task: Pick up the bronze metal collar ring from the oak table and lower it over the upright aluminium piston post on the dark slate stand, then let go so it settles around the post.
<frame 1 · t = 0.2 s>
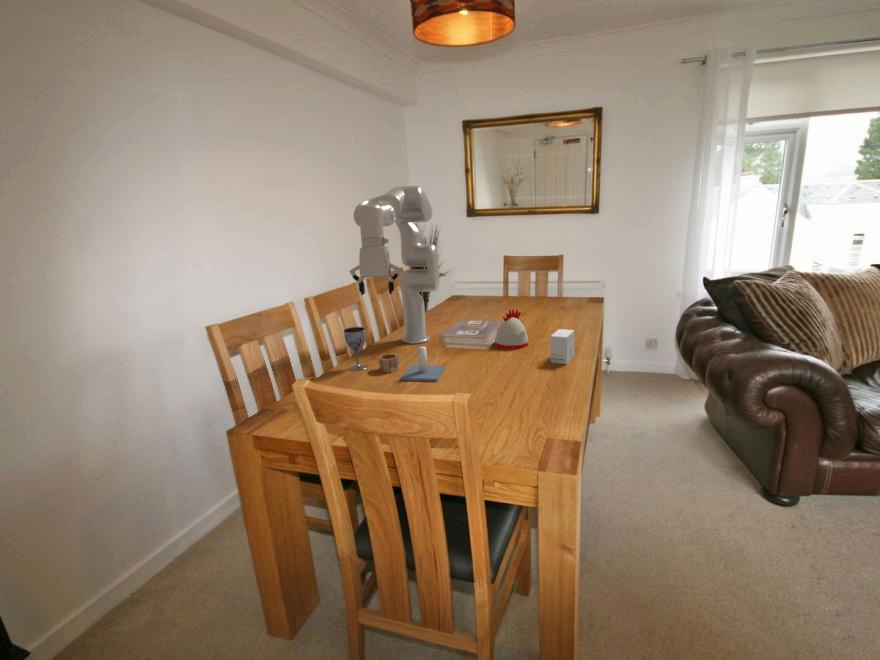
hand: (377, 293, 159), 30 cm above the table, tool pointing down, fingers open, 9 cm apart
ring: (389, 369, 173), on the table
kitchen timer: (511, 344, 196), on the table
skincare box: (562, 359, 175), on the table
wine glass: (358, 368, 177), on the table
piston stand: (423, 374, 166), on the table
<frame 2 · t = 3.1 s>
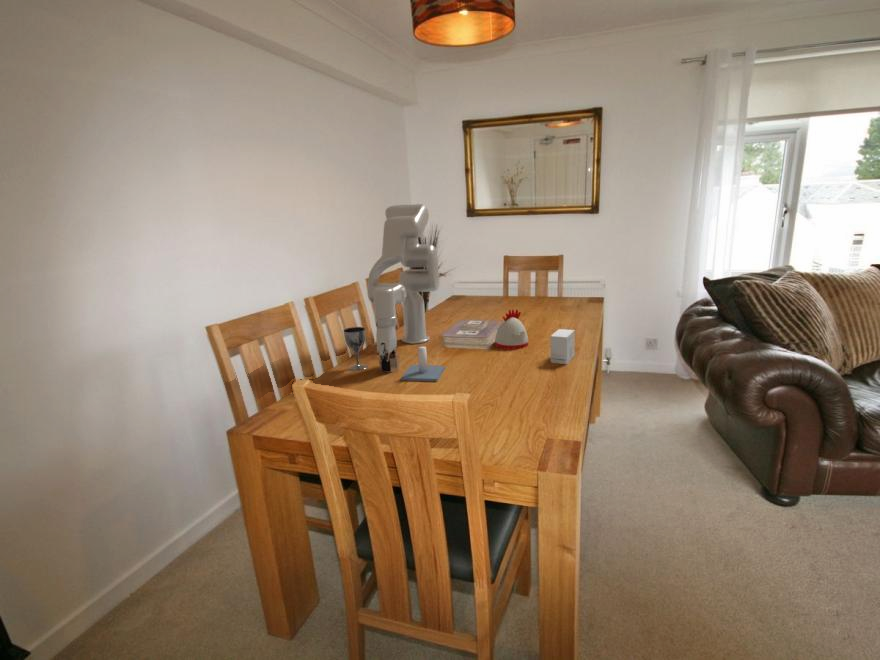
hand: (389, 367, 173), 1 cm above the table, tool pointing down, fingers closed on ring, 7 cm apart
ring: (389, 369, 173), on the table, touching gripper
everything else where it was.
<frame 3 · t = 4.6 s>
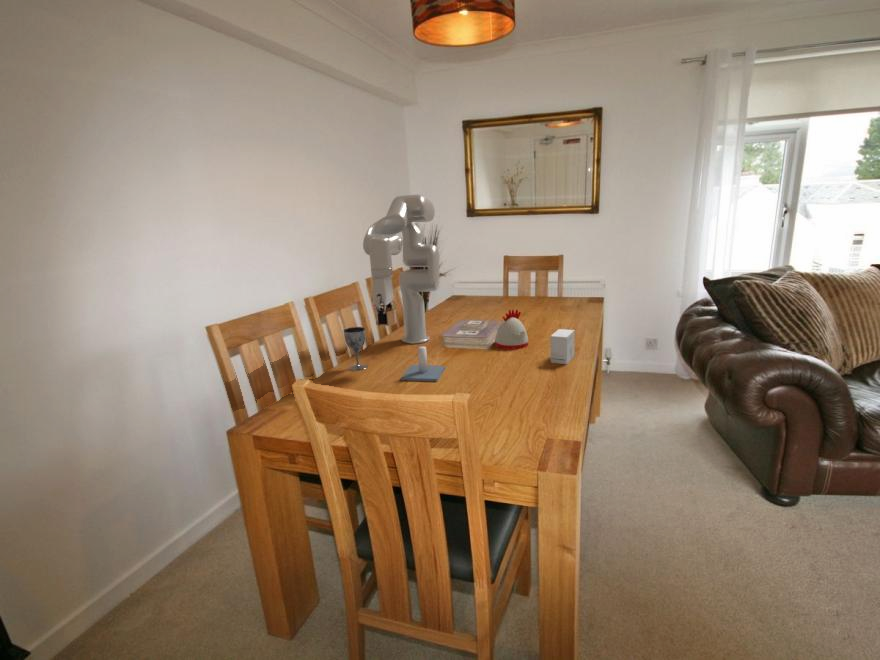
hand: (386, 320, 168), 19 cm above the table, tool pointing down, fingers closed on ring, 7 cm apart
ring: (386, 323, 169), point 18 cm above the table, touching gripper
everything else where it was.
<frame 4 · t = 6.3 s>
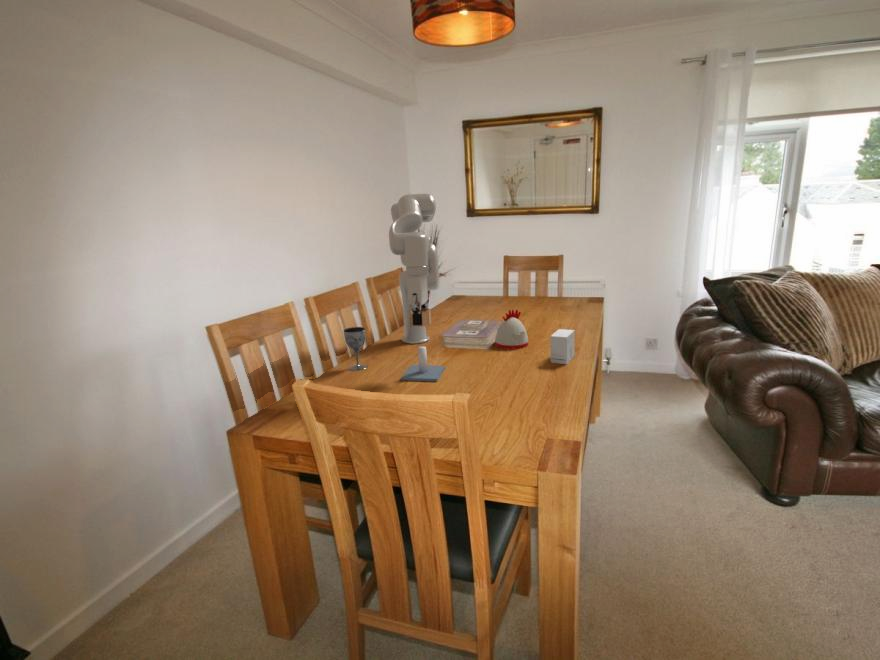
hand: (420, 322, 161), 19 cm above the table, tool pointing down, fingers closed on ring, 7 cm apart
ring: (420, 324, 161), point 19 cm above the table, touching gripper
everything else where it was.
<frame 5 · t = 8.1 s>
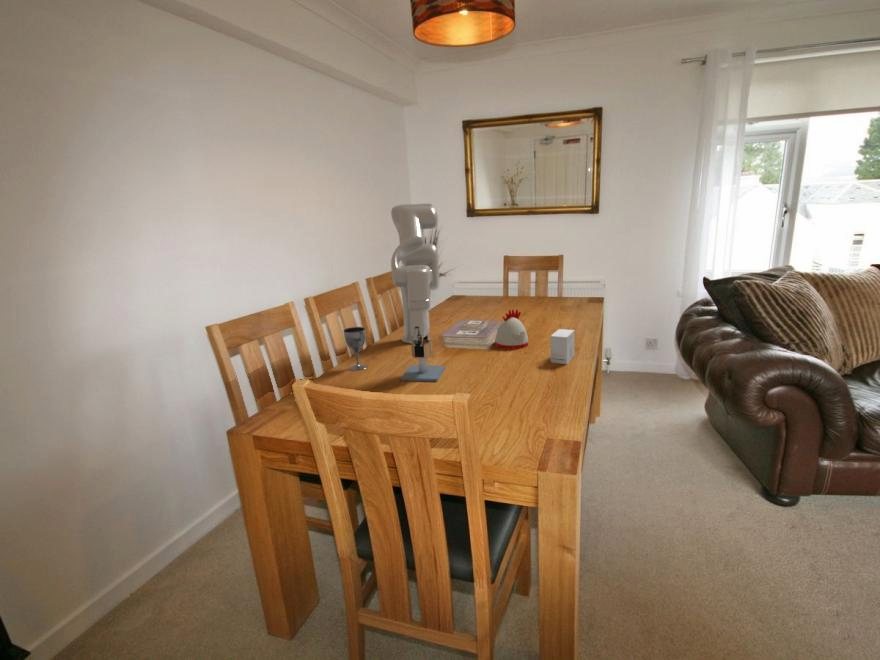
hand: (422, 353, 164), 8 cm above the table, tool pointing down, fingers closed on ring, 7 cm apart
ring: (422, 355, 164), point 7 cm above the table, touching gripper
everything else where it was.
when the fingers open (3 cm above the table, at t = 9.6 s): ring drops 1 cm, resting on piston stand.
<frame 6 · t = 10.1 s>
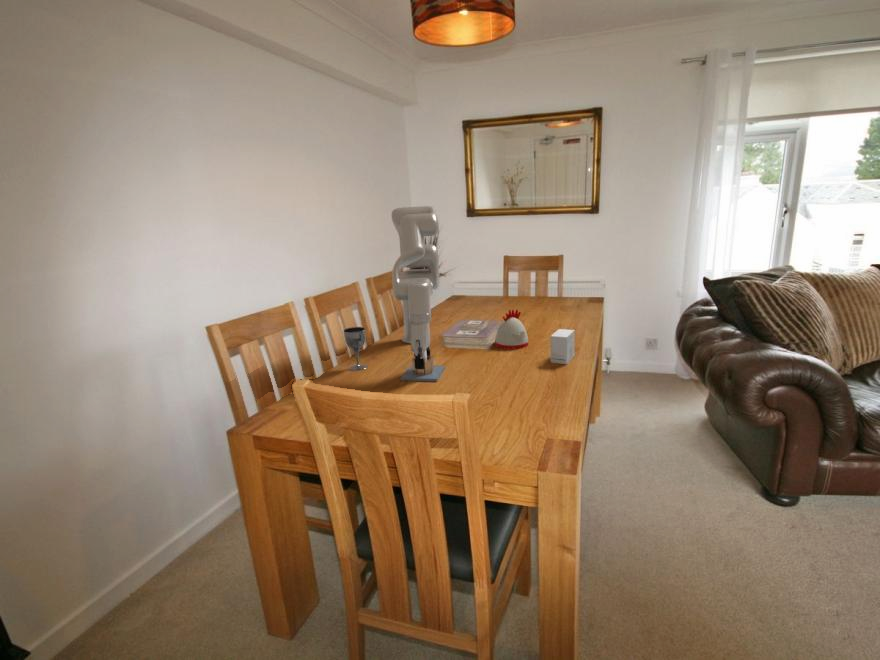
hand: (423, 364, 165), 4 cm above the table, tool pointing down, fingers open, 9 cm apart
ring: (423, 371, 166), point 1 cm above the table, touching piston stand
everything else where it was.
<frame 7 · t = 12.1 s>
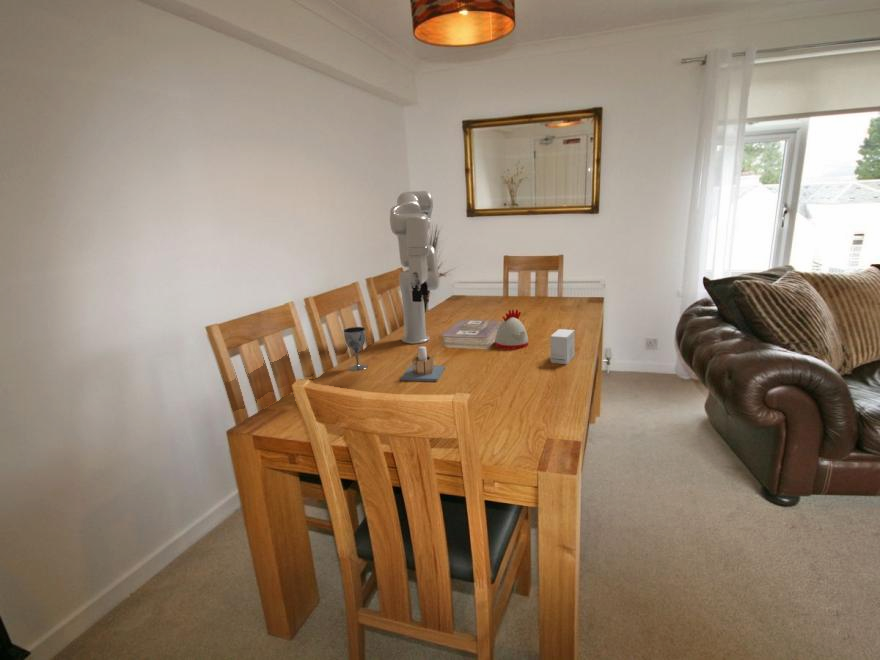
hand: (420, 298, 169), 26 cm above the table, tool pointing down, fingers open, 9 cm apart
nothing on the table moved.
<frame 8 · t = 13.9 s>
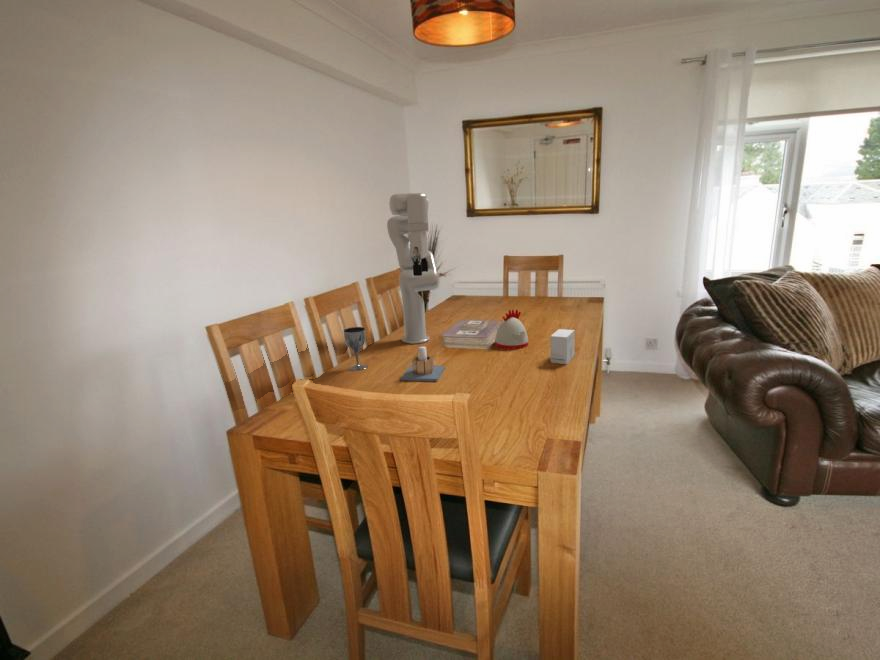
hand: (421, 273, 177), 33 cm above the table, tool pointing down, fingers open, 9 cm apart
nothing on the table moved.
at the end: ring 0.1 cm off-centre on the piston stand, point 1.0 cm above the piston stand's base; the gripper is holding nothing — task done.
